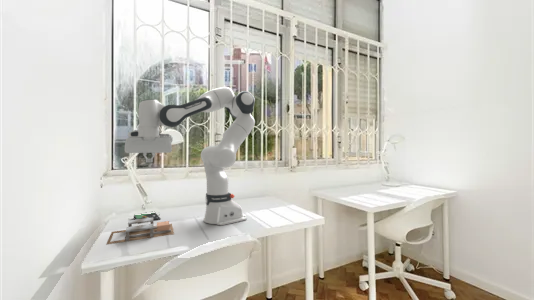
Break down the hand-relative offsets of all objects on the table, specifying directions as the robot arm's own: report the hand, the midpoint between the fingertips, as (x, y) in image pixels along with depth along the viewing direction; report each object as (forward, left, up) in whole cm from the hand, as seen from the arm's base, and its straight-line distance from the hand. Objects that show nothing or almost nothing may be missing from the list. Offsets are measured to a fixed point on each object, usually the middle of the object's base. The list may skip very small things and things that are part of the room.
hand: (149, 162), depth 113 cm
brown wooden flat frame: (+2, +12, -31) cm, 33 cm away
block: (-6, +12, -30) cm, 32 cm away
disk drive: (+2, -10, -32) cm, 33 cm away
